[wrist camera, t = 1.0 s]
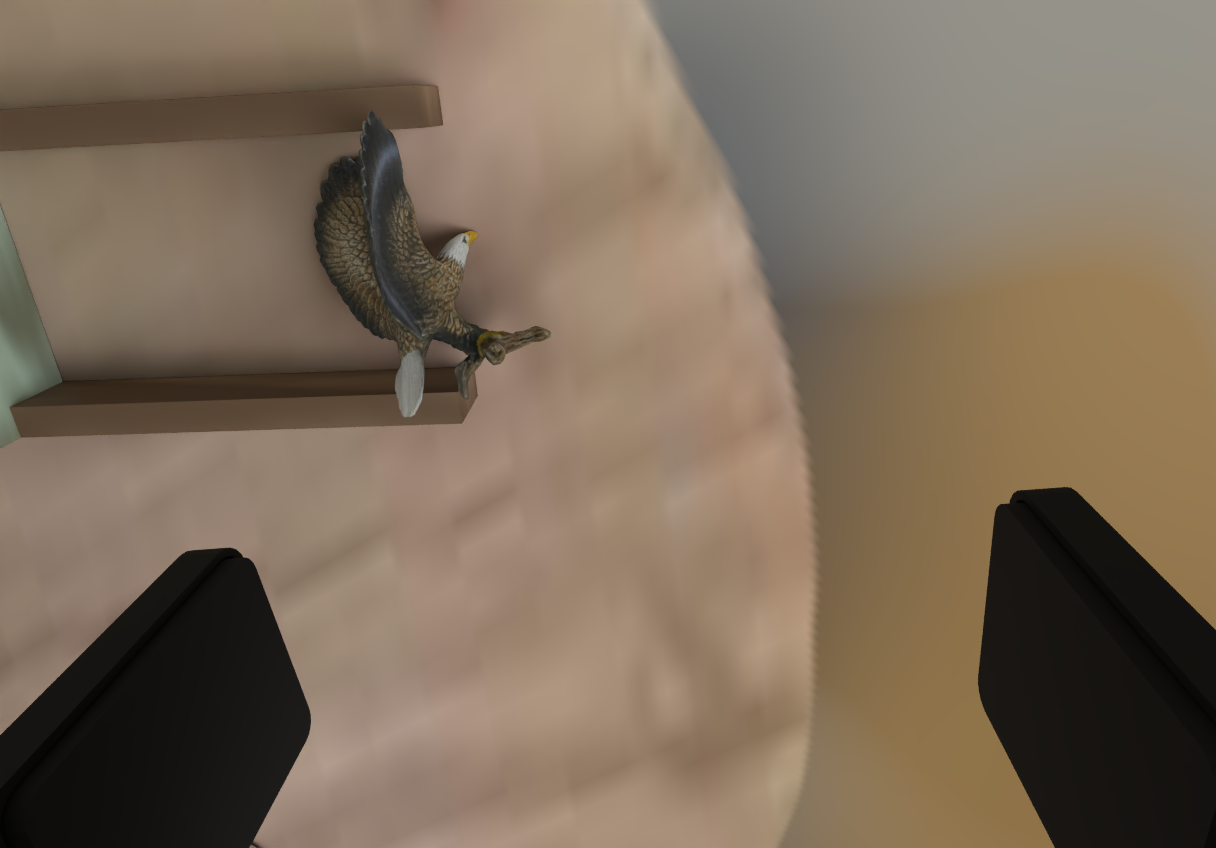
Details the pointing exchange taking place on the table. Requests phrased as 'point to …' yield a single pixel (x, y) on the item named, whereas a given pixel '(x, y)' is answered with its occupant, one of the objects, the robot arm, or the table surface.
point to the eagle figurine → (399, 268)
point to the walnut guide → (46, 406)
